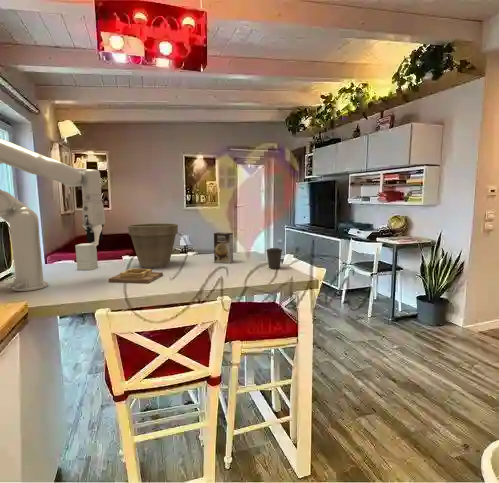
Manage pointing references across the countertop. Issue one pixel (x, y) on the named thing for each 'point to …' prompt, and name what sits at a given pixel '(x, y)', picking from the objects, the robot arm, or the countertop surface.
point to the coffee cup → (274, 257)
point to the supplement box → (86, 256)
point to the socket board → (136, 276)
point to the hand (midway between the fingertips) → (95, 240)
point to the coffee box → (223, 247)
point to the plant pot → (153, 243)
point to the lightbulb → (96, 234)
